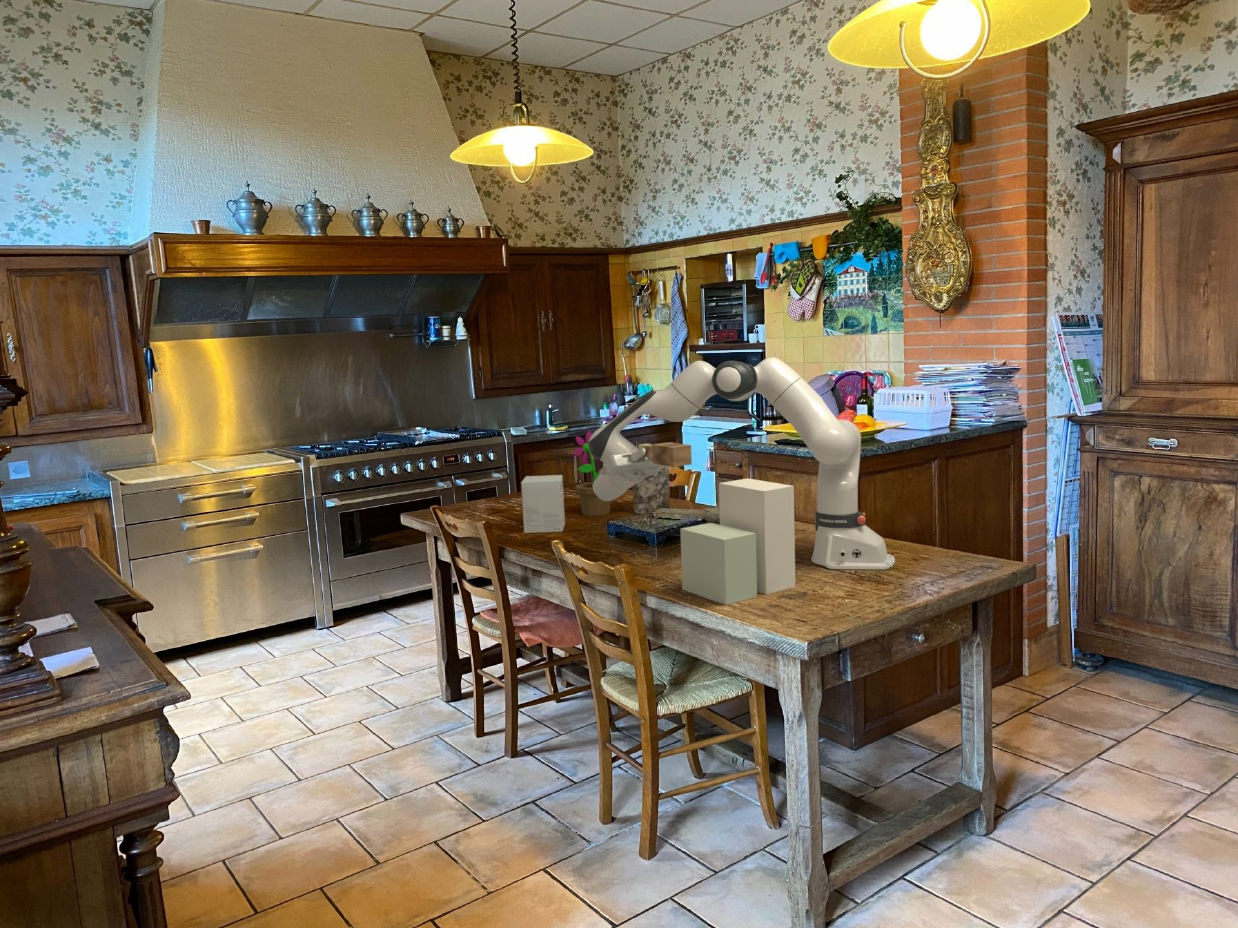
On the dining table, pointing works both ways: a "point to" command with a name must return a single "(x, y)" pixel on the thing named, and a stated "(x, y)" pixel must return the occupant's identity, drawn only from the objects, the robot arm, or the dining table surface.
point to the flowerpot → (586, 494)
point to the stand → (742, 544)
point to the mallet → (668, 453)
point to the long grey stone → (696, 513)
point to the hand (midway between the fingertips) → (651, 449)
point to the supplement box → (543, 503)
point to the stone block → (652, 493)
